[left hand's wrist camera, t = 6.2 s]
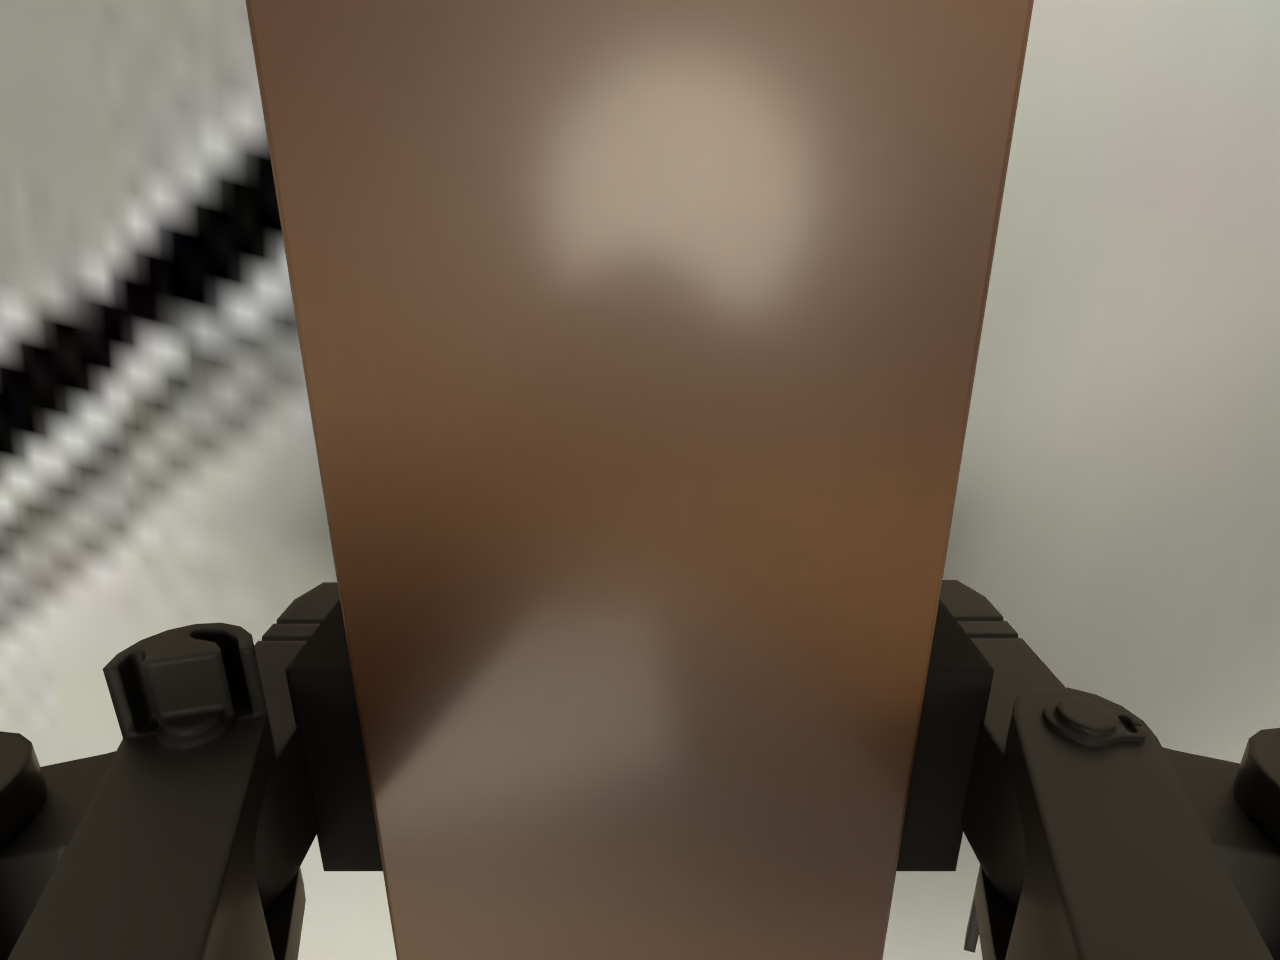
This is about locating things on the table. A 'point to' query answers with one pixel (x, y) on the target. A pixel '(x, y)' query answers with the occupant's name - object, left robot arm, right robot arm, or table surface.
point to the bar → (639, 441)
